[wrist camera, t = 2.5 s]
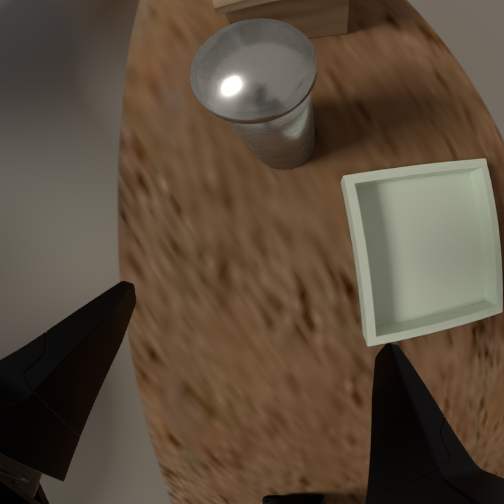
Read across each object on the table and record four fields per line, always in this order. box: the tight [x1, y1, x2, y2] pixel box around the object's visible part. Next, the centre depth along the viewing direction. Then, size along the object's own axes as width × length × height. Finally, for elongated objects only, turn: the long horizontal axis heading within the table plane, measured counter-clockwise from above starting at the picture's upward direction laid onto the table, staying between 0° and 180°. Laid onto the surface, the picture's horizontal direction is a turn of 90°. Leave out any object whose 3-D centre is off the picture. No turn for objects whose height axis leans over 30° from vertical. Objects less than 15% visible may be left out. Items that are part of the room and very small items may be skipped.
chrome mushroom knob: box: [190, 18, 317, 170], centre depth 15 cm, size 5×5×11 cm
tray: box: [341, 159, 503, 346], centre depth 18 cm, size 11×11×2 cm
